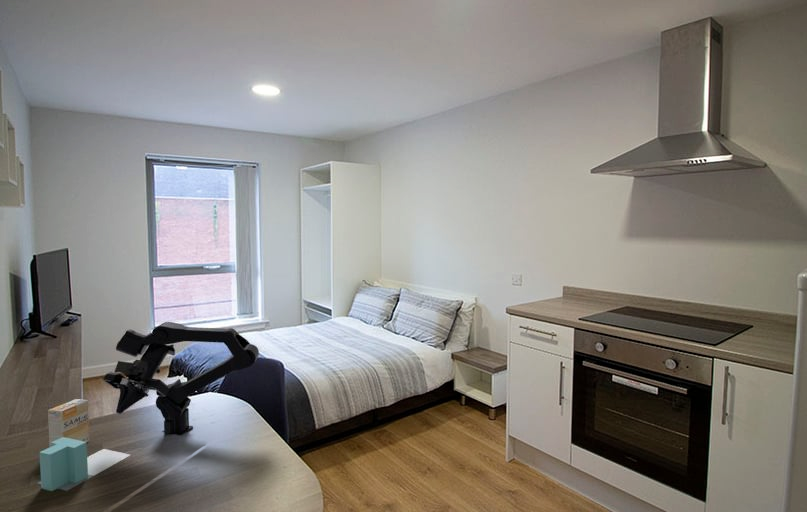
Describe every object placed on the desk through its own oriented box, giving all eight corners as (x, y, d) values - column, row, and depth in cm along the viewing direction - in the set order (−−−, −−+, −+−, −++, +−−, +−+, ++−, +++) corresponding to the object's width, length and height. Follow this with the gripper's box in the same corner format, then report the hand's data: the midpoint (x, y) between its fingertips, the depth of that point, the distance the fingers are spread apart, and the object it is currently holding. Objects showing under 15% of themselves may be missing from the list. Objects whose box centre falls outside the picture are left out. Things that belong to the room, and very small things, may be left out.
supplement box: (63, 457, 119) (61, 411, 118) (49, 455, 120) (46, 409, 119) (90, 443, 127) (88, 399, 126) (77, 441, 128) (75, 398, 127)
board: (103, 451, 122) (103, 448, 122) (131, 457, 119) (130, 454, 119) (37, 485, 106) (37, 482, 106) (66, 493, 103) (66, 490, 103)
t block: (65, 471, 111) (63, 436, 111) (88, 476, 109) (86, 442, 108) (34, 486, 105) (32, 450, 104) (58, 493, 102) (56, 456, 102)
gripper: (108, 345, 127) (71, 396, 117) (160, 352, 122) (126, 405, 112) (131, 363, 135) (98, 412, 125) (181, 370, 130) (152, 422, 120)
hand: (118, 413), depth 120 cm, fingers closed
